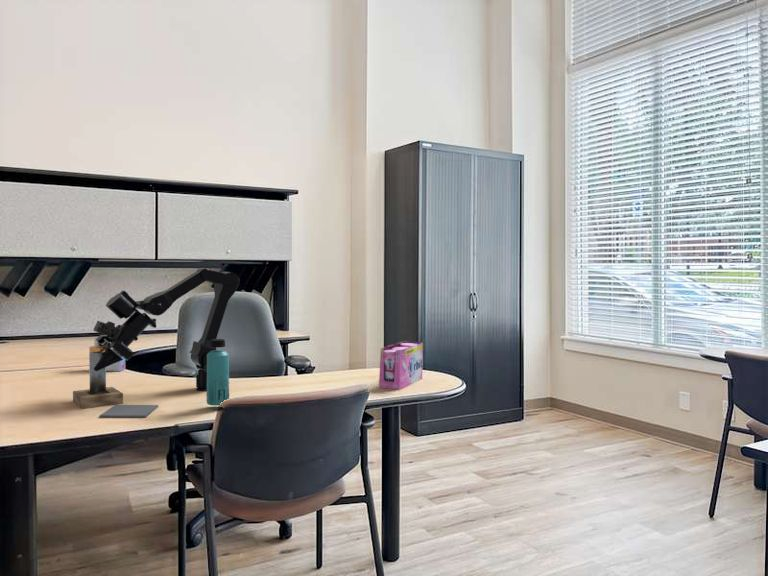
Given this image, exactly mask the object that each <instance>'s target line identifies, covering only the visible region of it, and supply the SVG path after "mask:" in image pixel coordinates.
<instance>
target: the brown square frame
mask: <svg viewBox="0 0 768 576" xmlns="http://www.w3.org/2000/svg"><path fill="white" fill-rule="evenodd" d="M72 402H74V403H75V404H76V405H77V406H78V405H79V407H80V408H81V409H82V408H83V409H89V408H98V407H107V406H112V405H113V406H114V405H124V393H123V392H121V391H120V390H118V389H116V388H115V387H113V386H108V387H107V386H106V391H103V392H90V388H89V389H88V388H87V389H81V390H80V389H79V390H73V391H72Z"/></svg>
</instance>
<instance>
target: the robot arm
mask: <svg viewBox="0 0 768 576" xmlns="http://www.w3.org/2000/svg"><path fill="white" fill-rule="evenodd" d="M205 282H207V283H211V284H213V289H214V290H213V293H214V297H213V301H212V304H211V308H210V310H209V314H208V317H207V320H206V323H205V326H204V328H203V332H202V335H201V337H200V339H199V340H198V341H195V340H194V341H193V342H192V348H191V350H190V351H189V354H190V360H191V362H192V363H193V364H194V365H195V367H196V370H197V374H196V375H195V378H196V379H195V382H196V383H195V384H196V386H195V387H196V391H207V390H206V389H207V380H206V379H207V354H208V353H209V352H210V351H213V350H217V347H210V345H211V340H212V339H218V335H219V332H220V329H221V325H222V322H223V320H224V315H225V313H226V310H227V307H228V303H229V300H230V299H231V298H232V297H233V296H234V294H235V293H236V291H237V289H238V287H239V285H240V278H239V275H238V274H237V273H235V272H232V271H231V272H230V271H221V272H220V271H215V270H211V269H209V268H206V267H205V268H203V267H202V268H198V269H197V270H196V271H195V272H193V273H192V274H189V275H188V276H187V277H185V278H183V279H182V280H180V281H178V282H177V283H176V284H174V285H172V286H170V287H169V288H167V289H164V290H162V291H158V292H155V293H153V294H151V295H148V296H146V297H145V298H144V299H143V300H142V299H141V300H136V301H135V300H134V299H133V298H132V297H131V296H130V295H129V293H128V292H127V291H125V290H121V291H120V292H119V293H117V294H115V295H114V296H112V297H110V299H109V300H108V301H107V302H106V304H105V307H106V308H107V309H109V310H110V311H111V312H112V313H113V314H114V315H116V316H117V318H119V320H120V319H126V320H125V321H124V322H122V324H117V325H115V323H114V322H112V321H109V320H108V321H107V322H106V323H105V322H103V321H100V320H97V321H96V323H95V326H94V328H93V330H92V331H93V332H96V333H99V334H101V335H99V336H97V339H96V338H95V339H96V341H97V342H99V343H97V344H98V346H105V354H104V355H103V356H102V358H101V359H100V360H99V362H98V363H97V364H96V366H95V367H94V370H95V371H98V370H101V369H103V368H105V367H107V366H109V365H112V364H114V363H116V362H119V361H122V360H123V359H122V358H121V357H122V356H123V357H124V359H125V361H130V359H131V358H132V357H133V356H134V354H133V350H132V349H130V347H129V346H130V345H131V344H132V343H133V342H134V341H135V342H137V341H138V340H139V338H138V337H139V336H140V335H141V334H142V333H143V332H144V331H145V329H146V328H147V327H151V328H154V329H155V328H157V318H152V317H150V316H149V315H152V316H156V317H157V316H162V315H163V314H164V313H165V312H166V311H167V310H169V309H170V308H171V307H172V305H173V304H174V303H175V302H176V301H177V300H178V299H180V298H181V297H183V296H184V295H186V294H188V293H189V292H191V291H192V290H194V289H196V288H198V287H199V286H200V285H202V284H204V283H205ZM139 310H140V311H139ZM141 310H142V311H143V312H141ZM106 335H107V336H106Z"/></svg>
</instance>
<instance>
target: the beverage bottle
mask: <svg viewBox="0 0 768 576" xmlns="http://www.w3.org/2000/svg"><path fill="white" fill-rule="evenodd" d="M210 347H216V348H225V347H226V340H225V338H224V339H223V338H217V339H212V340H211V345H210ZM229 361H230V354H229V353H228V352H227V351H226V350H225V349H223V350H222V349H216V350H213V351H210V352H209V353H208V354H207V379H206V380H207V389H206V390H205V391H206V394H205V395H206V397H205V398H206V399H205V400H206V404H207V405H209V406H221V405H220V403H221V402H223V401H224V400H227V399H229V400H230V362H229Z"/></svg>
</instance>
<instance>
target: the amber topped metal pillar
mask: <svg viewBox="0 0 768 576" xmlns="http://www.w3.org/2000/svg"><path fill="white" fill-rule="evenodd" d="M88 351H89V353H88V357H89V360H88V361H89V362H88V363H89V365H88V366H89V389H90V392H103V391H106V387H107V371H106V367H105V368H103V369H101V370H98V371H95V370H94V367H95V366H96V364H97V363H98V362H99V360H100V359H101V358H102V356H103V355H104V354H105V346H94V345H93V346H89V348H88Z"/></svg>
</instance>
